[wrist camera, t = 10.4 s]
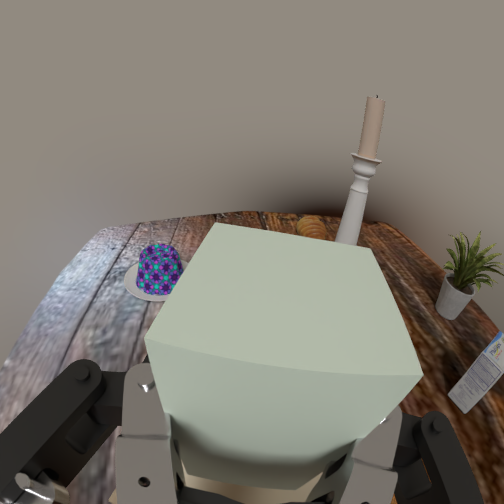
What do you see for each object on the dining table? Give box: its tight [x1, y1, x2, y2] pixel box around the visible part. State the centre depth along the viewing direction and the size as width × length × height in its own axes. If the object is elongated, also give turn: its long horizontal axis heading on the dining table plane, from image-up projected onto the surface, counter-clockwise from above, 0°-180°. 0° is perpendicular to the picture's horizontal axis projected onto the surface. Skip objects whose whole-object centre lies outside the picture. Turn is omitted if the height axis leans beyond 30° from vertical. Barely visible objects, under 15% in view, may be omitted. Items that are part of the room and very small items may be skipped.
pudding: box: [124, 244, 189, 301], centre depth 41 cm, size 12×12×5 cm
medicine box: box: [448, 331, 504, 414], centre depth 23 cm, size 8×4×9 cm, turn 112°
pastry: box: [296, 216, 327, 240], centre depth 60 cm, size 9×7×4 cm
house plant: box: [435, 232, 504, 320], centre depth 36 cm, size 14×14×16 cm
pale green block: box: [144, 223, 423, 490], centre depth 9 cm, size 5×5×10 cm
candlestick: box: [335, 96, 385, 246], centre depth 30 cm, size 13×13×30 cm
